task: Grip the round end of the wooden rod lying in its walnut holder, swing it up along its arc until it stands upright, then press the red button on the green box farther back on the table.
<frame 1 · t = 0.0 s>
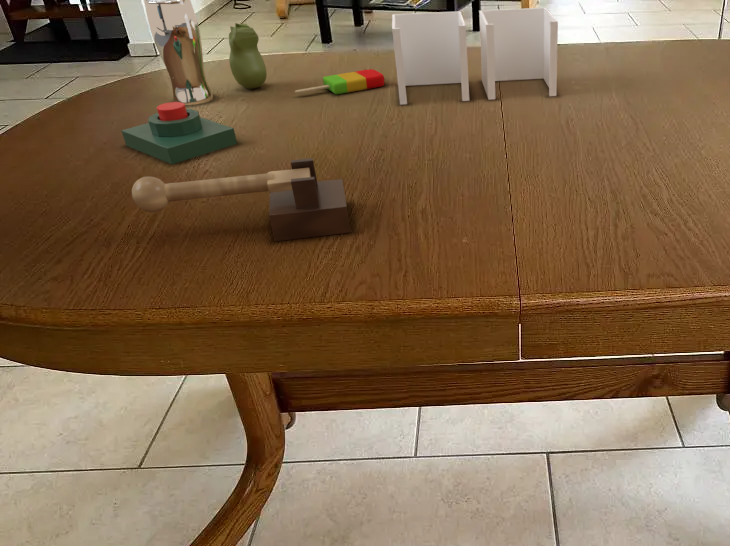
button: (172, 112, 101), point 4 cm above the table, slide at 0.1 cm
button box: (181, 144, 103), on the table
holder: (312, 221, 82), on the table
pear: (253, 89, 126), on the table
wooden rod: (223, 186, 78), point 5 cm above the table, hinge at 0.0°
popsicle: (339, 91, 124), on the table
twin white cubbies: (475, 91, 122), on the table
beer glass: (194, 101, 121), on the table
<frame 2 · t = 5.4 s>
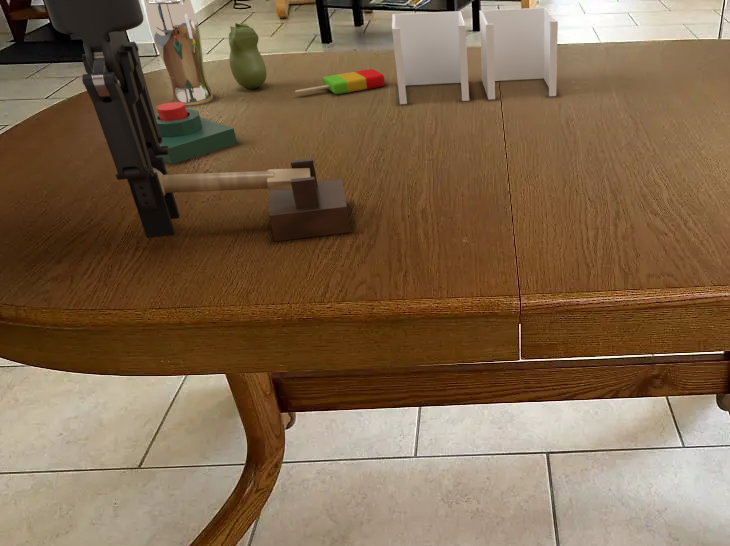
hand: (163, 226, 79), 1 cm above the table, tool pointing down, fingers closed on wooden rod, 4 cm apart
wooden rod: (222, 181, 78), point 6 cm above the table, hinge at 3.9°, touching gripper
everything else where it was.
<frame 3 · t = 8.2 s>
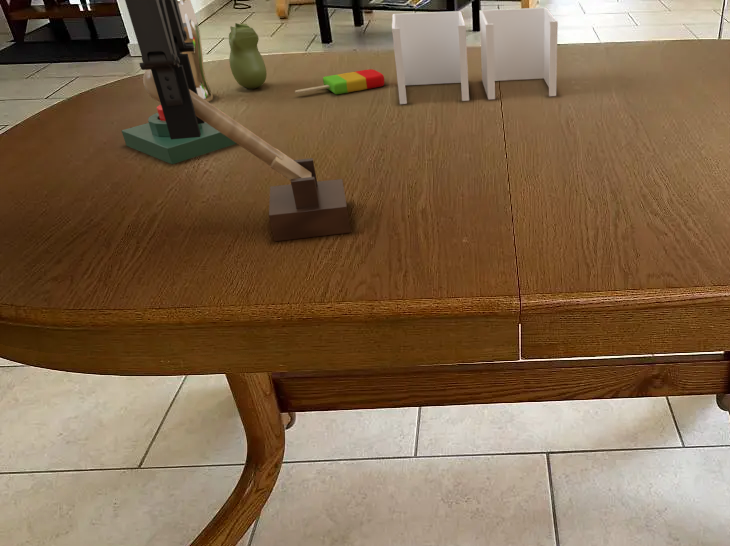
hand: (188, 129, 74), 11 cm above the table, tool pointing down, fingers closed on wooden rod, 4 cm apart
wooden rod: (232, 130, 75), point 11 cm above the table, hinge at 43.8°, touching gripper
everything else where it was.
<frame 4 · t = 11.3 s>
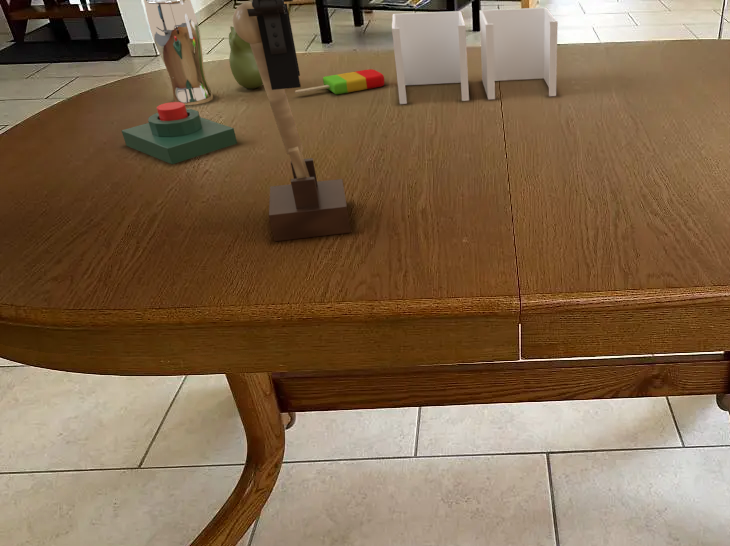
hand: (286, 81, 73), 15 cm above the table, tool pointing down, fingers open, 4 cm apart
wooden rod: (278, 100, 74), point 13 cm above the table, hinge at 83.0°
everything else where it was.
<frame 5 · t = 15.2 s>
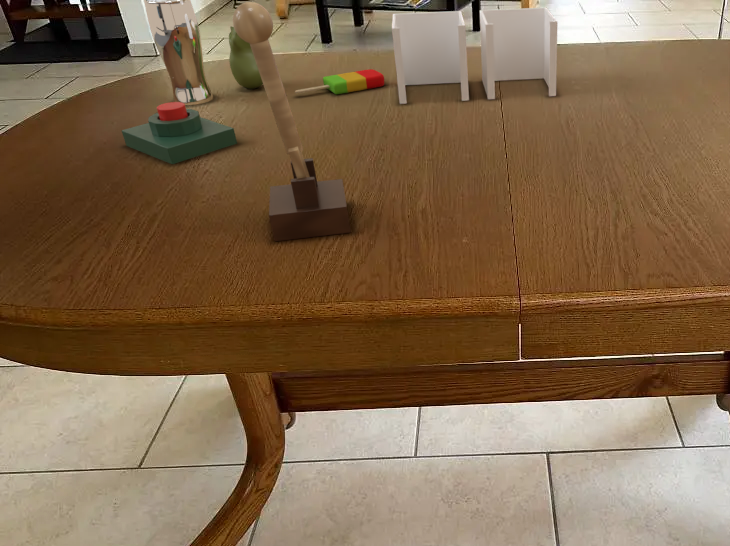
nothing on the table moved.
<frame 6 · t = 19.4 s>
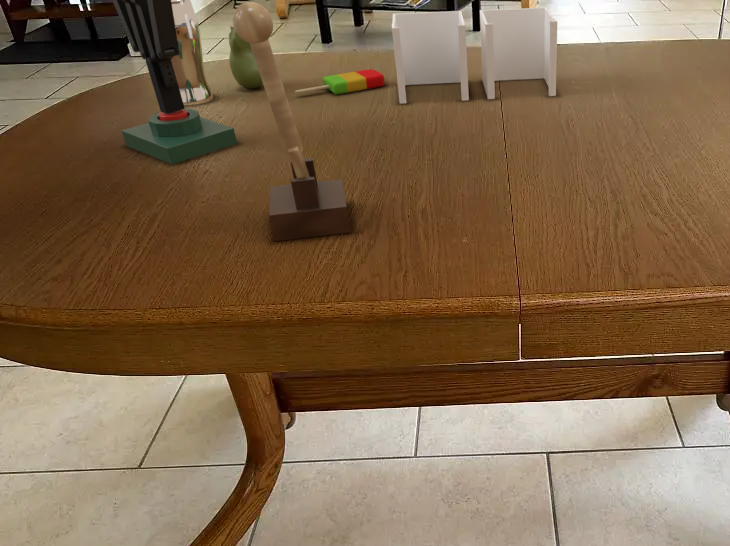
hand: (172, 110, 101), 5 cm above the table, tool pointing down, fingers closed
button: (174, 118, 101), point 4 cm above the table, slide at -0.8 cm, touching gripper
everything else where it was.
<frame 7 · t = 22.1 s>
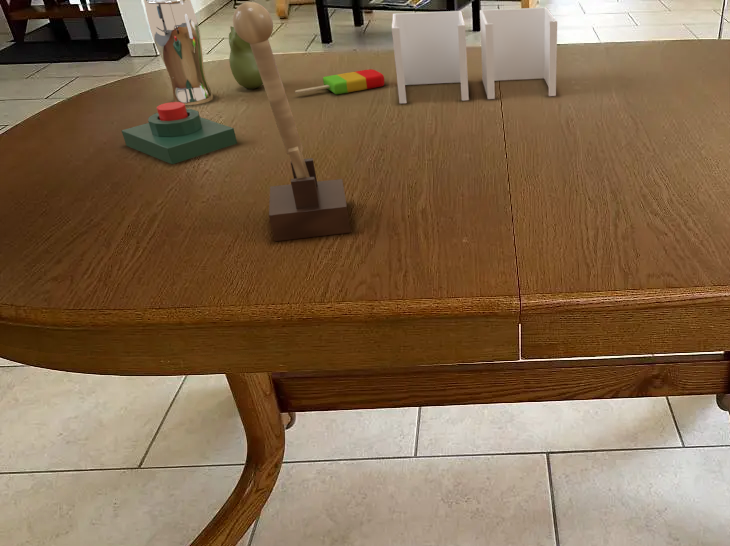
button: (172, 112, 101), point 4 cm above the table, slide at 0.1 cm
everything else where it was.
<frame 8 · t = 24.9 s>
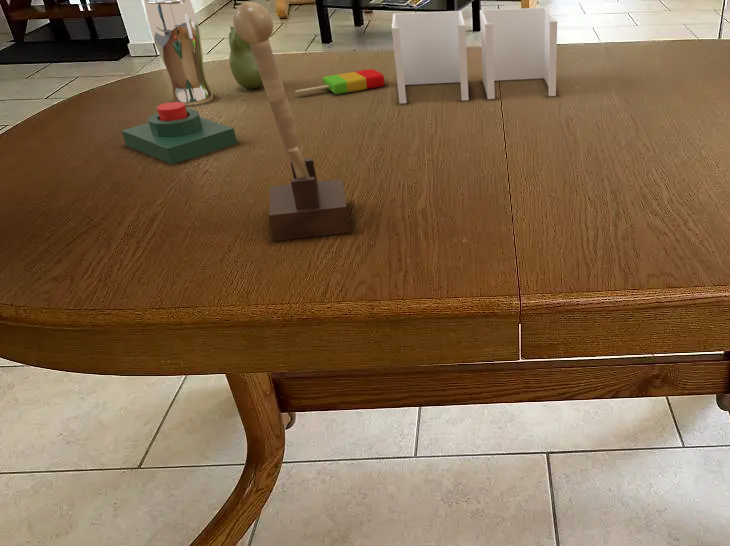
nothing on the table moved.
at the end: wooden rod at +83° (first picture: +0°); button pushed in 1.0 cm at the most during the clip, back to where it started at the end; button slide at 0.1 cm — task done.
